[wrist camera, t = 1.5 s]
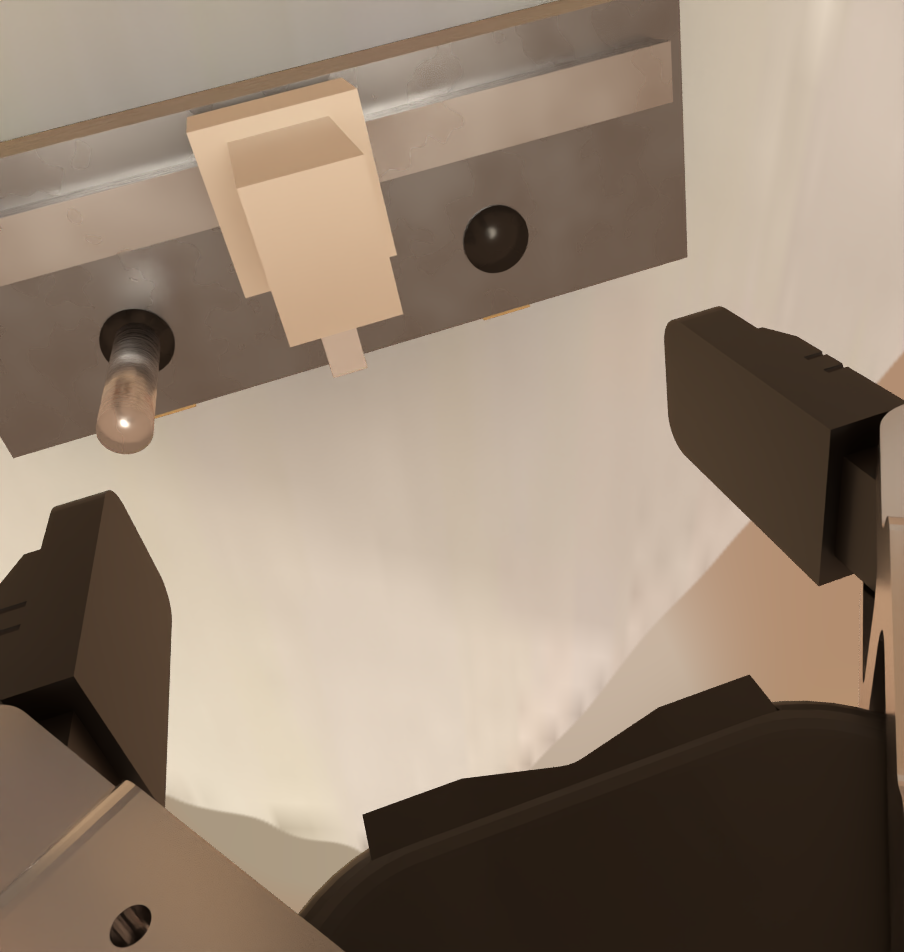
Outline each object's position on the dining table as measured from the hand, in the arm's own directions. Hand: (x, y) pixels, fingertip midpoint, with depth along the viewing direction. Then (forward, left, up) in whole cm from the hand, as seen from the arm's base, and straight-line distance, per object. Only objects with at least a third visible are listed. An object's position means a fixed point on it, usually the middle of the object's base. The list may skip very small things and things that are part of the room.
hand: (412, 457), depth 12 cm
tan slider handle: (+2, 0, -20) cm, 20 cm away
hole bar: (+2, +1, -24) cm, 24 cm away
